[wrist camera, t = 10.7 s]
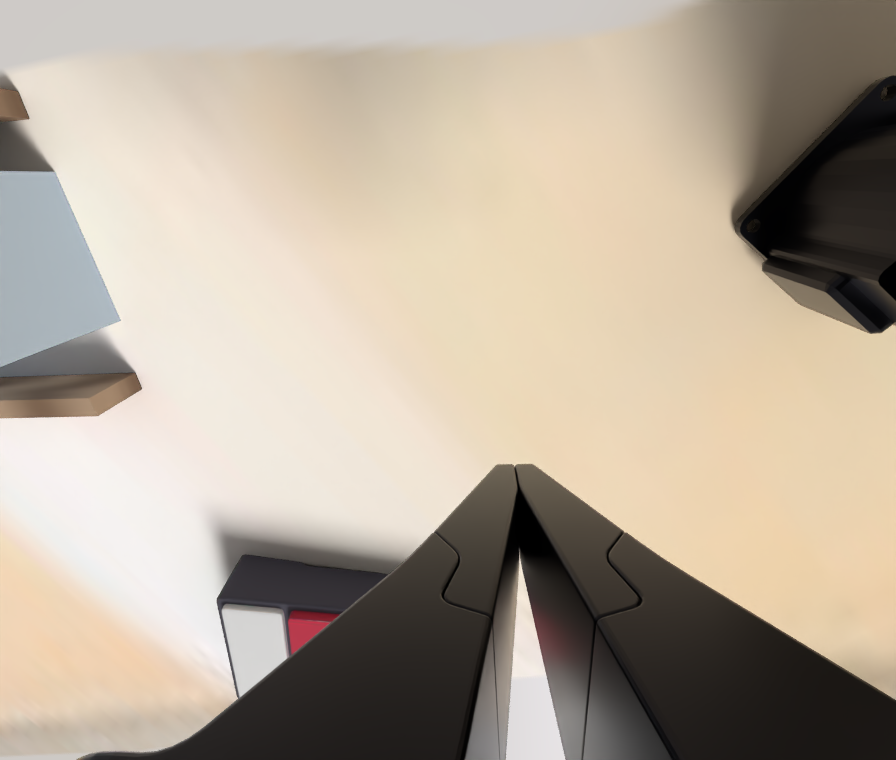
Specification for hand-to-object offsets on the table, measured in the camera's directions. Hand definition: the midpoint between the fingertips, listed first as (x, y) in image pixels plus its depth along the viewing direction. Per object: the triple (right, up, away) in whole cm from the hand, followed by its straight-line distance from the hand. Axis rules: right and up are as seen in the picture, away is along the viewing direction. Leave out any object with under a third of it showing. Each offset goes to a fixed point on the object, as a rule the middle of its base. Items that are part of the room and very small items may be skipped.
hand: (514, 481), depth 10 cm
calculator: (-8, -15, +22) cm, 28 cm away
